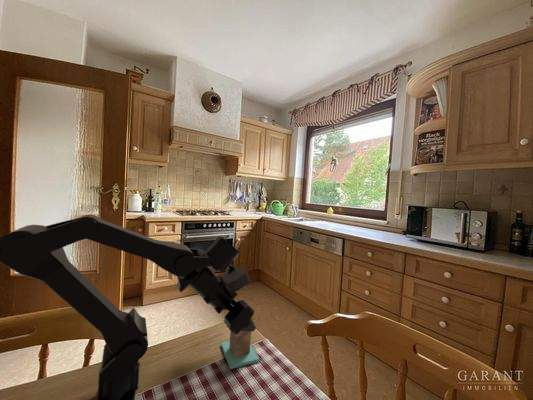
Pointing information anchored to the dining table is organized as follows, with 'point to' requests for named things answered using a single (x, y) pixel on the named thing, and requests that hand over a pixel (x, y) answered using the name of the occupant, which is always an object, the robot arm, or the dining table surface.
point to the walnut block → (240, 343)
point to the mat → (240, 360)
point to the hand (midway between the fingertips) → (246, 320)
